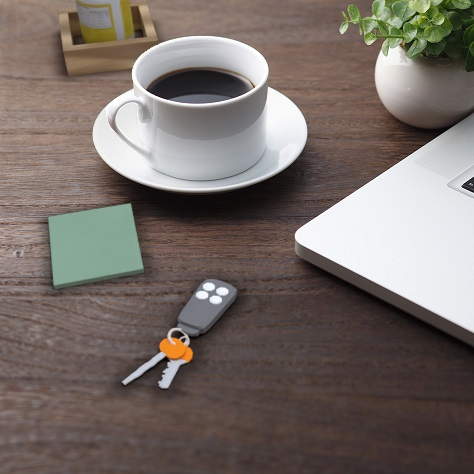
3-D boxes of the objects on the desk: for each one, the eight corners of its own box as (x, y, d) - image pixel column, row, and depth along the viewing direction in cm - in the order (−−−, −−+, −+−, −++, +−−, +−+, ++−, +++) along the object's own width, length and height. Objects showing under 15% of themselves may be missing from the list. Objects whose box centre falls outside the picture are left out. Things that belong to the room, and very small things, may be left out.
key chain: (204, 284, 76) (203, 272, 75) (240, 296, 75) (239, 284, 74) (121, 385, 67) (118, 374, 66) (161, 401, 66) (158, 389, 65)
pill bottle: (130, 34, 111) (117, -51, 103) (141, 56, 106) (128, -30, 99) (81, 41, 109) (64, -45, 101) (90, 65, 104) (72, -23, 97)
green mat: (49, 221, 81) (47, 216, 81) (131, 207, 84) (130, 202, 83) (54, 290, 74) (53, 285, 74) (144, 273, 77) (143, 268, 76)
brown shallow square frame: (62, 34, 110) (57, 9, 108) (149, 24, 113) (146, 0, 111) (68, 76, 102) (63, 51, 100) (161, 65, 105) (158, 40, 103)
